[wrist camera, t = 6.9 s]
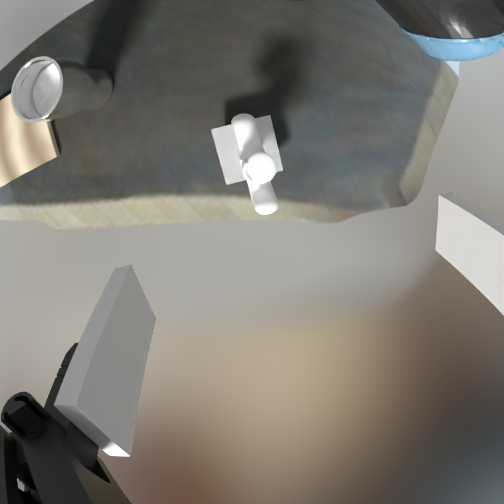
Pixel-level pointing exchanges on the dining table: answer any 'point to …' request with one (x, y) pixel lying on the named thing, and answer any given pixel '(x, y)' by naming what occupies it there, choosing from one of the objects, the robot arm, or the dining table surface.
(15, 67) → the dining table surface
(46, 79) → the beer glass
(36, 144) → the birch board
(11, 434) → the robot arm
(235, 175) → the figurine
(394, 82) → the dining table surface
